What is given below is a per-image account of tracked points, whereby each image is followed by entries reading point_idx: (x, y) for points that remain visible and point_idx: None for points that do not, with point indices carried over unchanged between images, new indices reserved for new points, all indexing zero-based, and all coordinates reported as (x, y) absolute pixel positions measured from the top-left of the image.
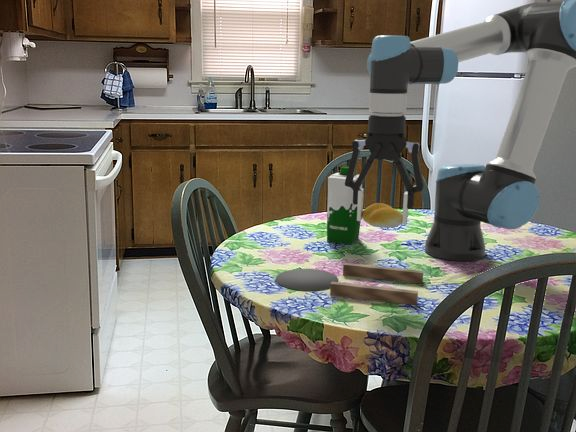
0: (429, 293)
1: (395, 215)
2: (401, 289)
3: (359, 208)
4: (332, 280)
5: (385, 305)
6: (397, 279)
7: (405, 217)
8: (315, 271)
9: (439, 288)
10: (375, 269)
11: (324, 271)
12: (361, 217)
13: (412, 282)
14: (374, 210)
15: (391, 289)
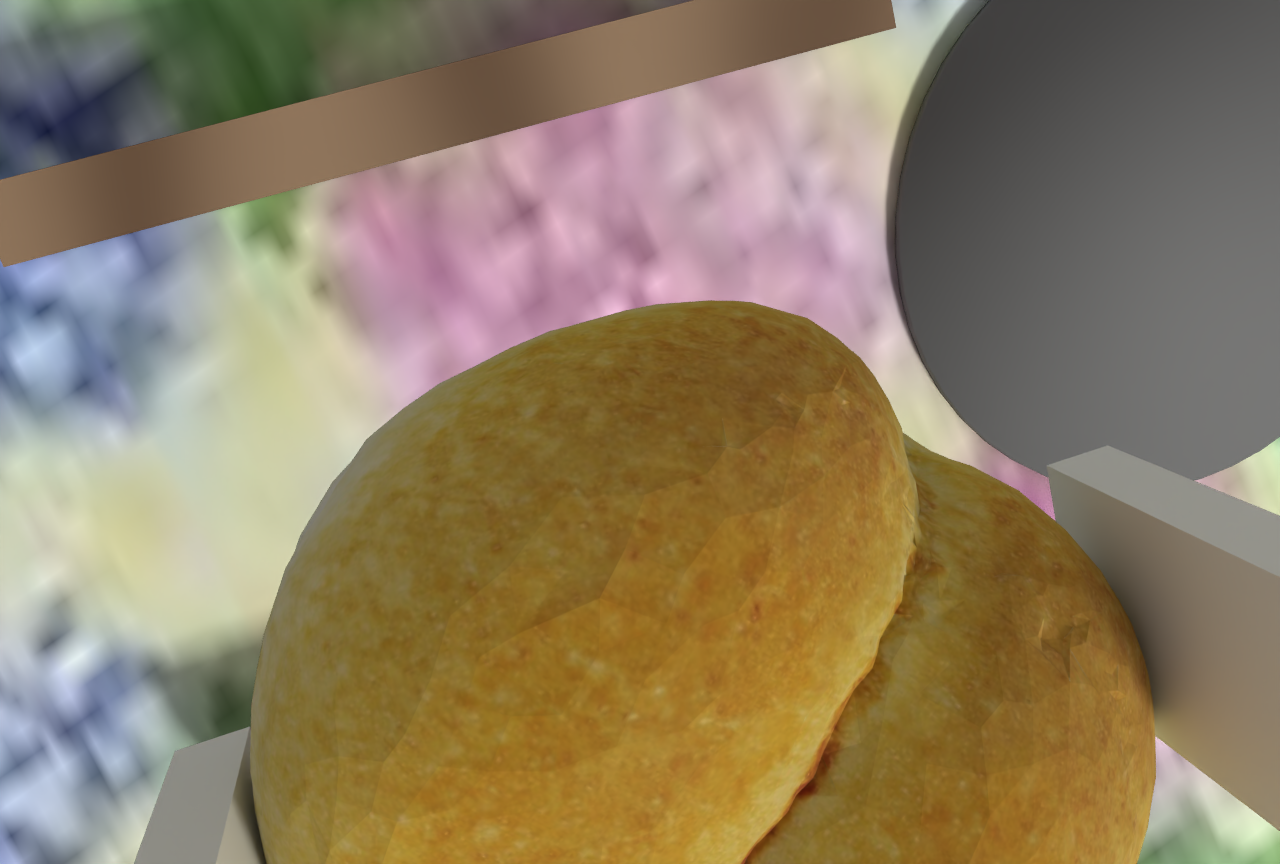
0: (63, 561)
1: (318, 639)
2: (181, 212)
3: (1242, 536)
4: (960, 308)
5: (273, 5)
6: None
7: (159, 831)
8: (1173, 430)
9: (46, 739)
10: None
11: None
12: None
13: None
14: (900, 644)
15: (271, 149)
